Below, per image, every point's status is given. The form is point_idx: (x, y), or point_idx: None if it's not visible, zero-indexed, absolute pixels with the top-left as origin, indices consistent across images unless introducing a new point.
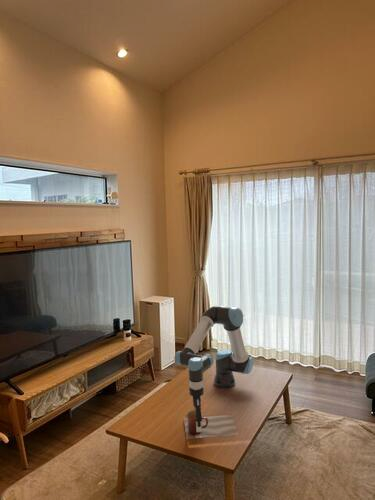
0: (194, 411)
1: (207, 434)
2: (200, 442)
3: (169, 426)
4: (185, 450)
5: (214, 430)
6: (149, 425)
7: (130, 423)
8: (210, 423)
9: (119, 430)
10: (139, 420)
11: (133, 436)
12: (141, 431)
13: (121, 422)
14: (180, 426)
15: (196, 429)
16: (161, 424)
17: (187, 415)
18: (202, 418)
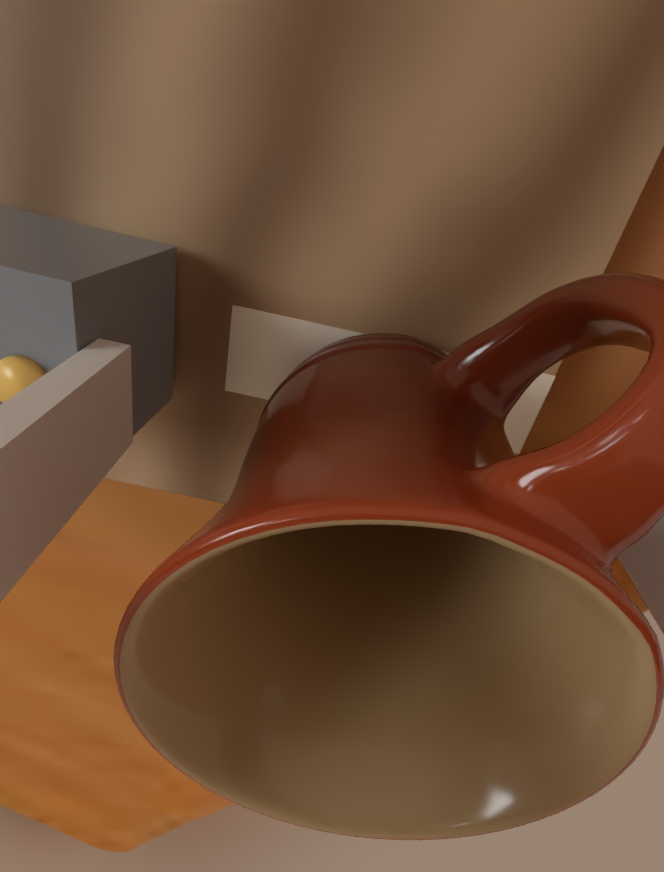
0: (156, 634)
1: (525, 244)
2: (592, 396)
3: (123, 598)
4: (627, 589)
5: (466, 23)
6: (87, 712)
7: (48, 785)
8: (166, 18)
9: (134, 834)
10: (4, 743)
11: (226, 803)
12: (170, 763)
13: (33, 813)
14: (138, 508)
15: (641, 576)
16: (77, 643)
17: (298, 772)
18: (642, 532)
